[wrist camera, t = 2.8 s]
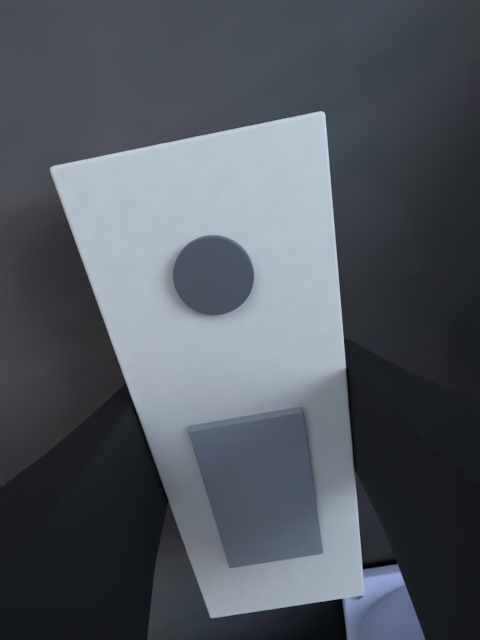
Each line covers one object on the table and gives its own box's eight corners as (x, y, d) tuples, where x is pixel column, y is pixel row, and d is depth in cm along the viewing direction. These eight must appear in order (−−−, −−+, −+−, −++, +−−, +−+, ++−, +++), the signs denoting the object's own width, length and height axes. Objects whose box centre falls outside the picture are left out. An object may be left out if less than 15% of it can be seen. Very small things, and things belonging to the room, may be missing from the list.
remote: (332, 495, 13) (368, 604, 10) (214, 514, 14) (210, 627, 10) (290, 129, 9) (329, 108, 5) (109, 166, 9) (40, 167, 6)
